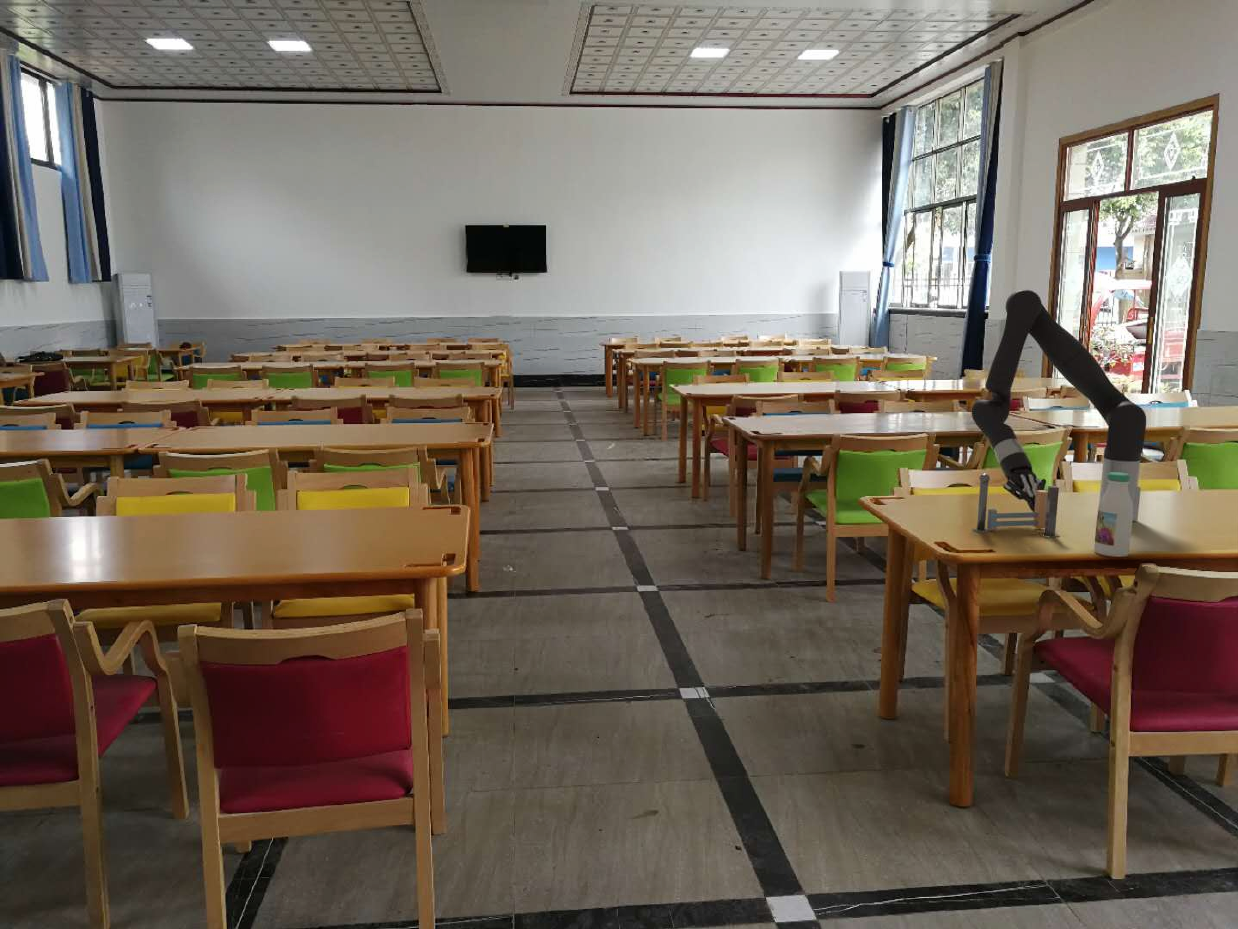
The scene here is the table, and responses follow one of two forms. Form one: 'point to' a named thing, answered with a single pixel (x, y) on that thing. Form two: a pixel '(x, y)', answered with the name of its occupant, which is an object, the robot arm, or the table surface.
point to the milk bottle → (1114, 518)
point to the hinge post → (982, 503)
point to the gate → (1022, 514)
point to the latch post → (1051, 512)
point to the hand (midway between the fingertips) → (1037, 510)
